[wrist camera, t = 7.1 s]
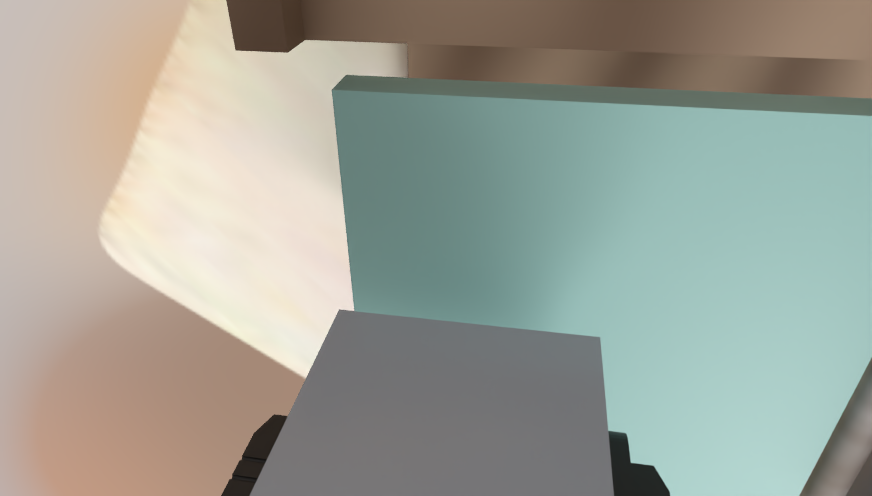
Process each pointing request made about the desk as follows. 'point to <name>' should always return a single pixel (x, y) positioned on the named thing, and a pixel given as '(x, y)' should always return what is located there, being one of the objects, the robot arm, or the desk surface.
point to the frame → (615, 74)
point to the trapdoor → (634, 251)
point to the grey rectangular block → (444, 413)
